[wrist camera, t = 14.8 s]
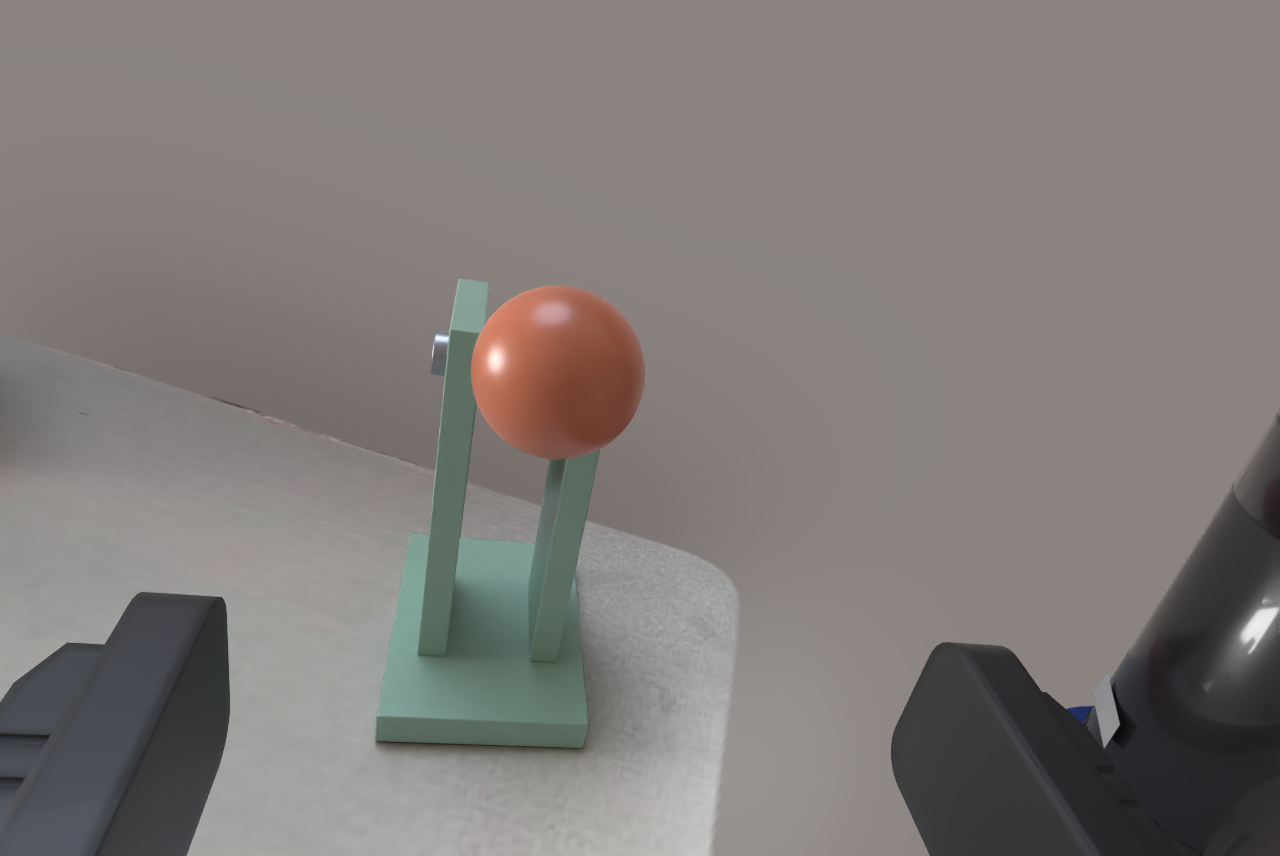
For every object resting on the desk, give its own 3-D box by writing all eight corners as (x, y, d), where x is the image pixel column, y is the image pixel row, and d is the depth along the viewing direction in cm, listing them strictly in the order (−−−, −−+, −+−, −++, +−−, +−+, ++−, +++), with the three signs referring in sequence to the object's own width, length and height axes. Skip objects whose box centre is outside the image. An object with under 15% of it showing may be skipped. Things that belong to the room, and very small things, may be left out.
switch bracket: (583, 748, 29) (667, 398, 23) (374, 742, 28) (402, 365, 21) (568, 567, 38) (626, 276, 31) (408, 554, 36) (435, 247, 30)
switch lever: (649, 480, 16) (673, 293, 16) (460, 459, 16) (482, 265, 15) (570, 421, 29) (583, 317, 29) (465, 409, 28) (477, 303, 28)
